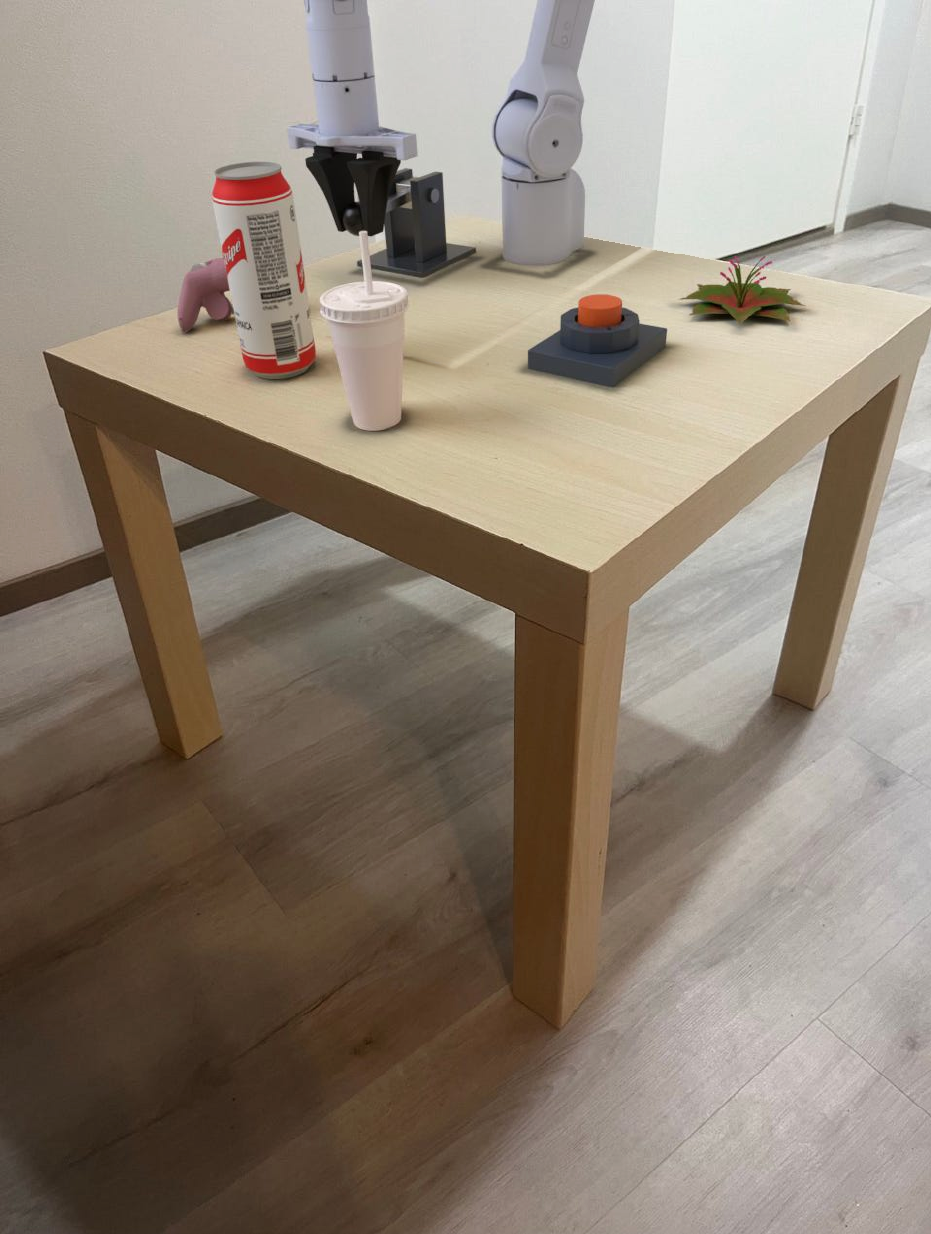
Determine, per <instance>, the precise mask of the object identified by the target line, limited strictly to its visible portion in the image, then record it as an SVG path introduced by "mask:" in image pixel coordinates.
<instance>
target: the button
mask: <svg viewBox="0 0 931 1234" xmlns="http://www.w3.org/2000/svg"><path fill="white" fill-rule="evenodd" d="M622 307H623V300H622V298H620V297H618V296H616V295H612V294H604V293H603V294H602V293H601V294H590V295H586V296H583V297H581V298H580V299H578V303H577V308H578V323H579V324H581V325H584V326H590V327H610V326H615V325H619V324H620V323H621V316H622Z"/></svg>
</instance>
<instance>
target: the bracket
mask: <svg viewBox="0 0 931 1234" xmlns="http://www.w3.org/2000/svg"><path fill="white" fill-rule="evenodd" d="M411 176H412V177H414V172H413V169H412V168H406V167H405V168H402V169H398V170H397V172H396V175H395V177H394V180H393V183H392V186H391V189H390V193H389V196H391V195H393V194H396V185H395V184H396V183H398V182H400V181H402V180H405V179H407V178H409V177H411ZM418 177H419V178H416V179H413V180H410V185H411V199H412V209H407V208H400V207H398V208H396V209H394V210H392V211H390V212H388V213H386V214H385V221H384V236H385V237H384V238H385V239H384V240H385V247H386V248H384V249H382V250H379V251H377V252H375V253H373V254H371V255H370V254H369V255H370V265H371V270H376V271H381V272H387V273H391V274H392V273H393V274H398V275H403V276H410V277H415V278H420V279H424V278H426V277H428V276H430V275H432V274H435V273H436V272H438V271H440V270H443V269H446V268H447V267H449V266H452V265H454V264H455V263H458V262H459V261H462V260H464V259H466V258H468V257H470V256H472V255H475V254H476V253H477V248H476V247H474V246H469V245H468V246H467V245H462V244H455V243H449V242H447V230H446V228H447V227H446V212H445V211H446V210H445V193H444V191H445V190H444V173H443V172H442V171H433V172H431V173H428V174H425V175H422V176H418ZM356 266H357V267H360V268H363V264H362V258H360V259H358V260H357V261H356Z"/></svg>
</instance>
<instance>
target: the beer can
mask: <svg viewBox="0 0 931 1234" xmlns="http://www.w3.org/2000/svg"><path fill="white" fill-rule="evenodd" d="M213 173H214V176H215V182H214V185H213V190H212V193H211V201H212V206H213V211H214V217H215V223H216V227H217V232H218V238H219V242H220V247H221V254H222V258H224V263H225V269H226V274H227V279H228V284H229V289H230V291H229V294H230V299H231V305H232V311H233V314H234V320H235V325H236V330H237V336H238V340H239V346H240V350H241V351H240V352H241V356H242V360H243V364H244V365H245V368H246V369H247V370H248V371H250V372H251V373H253V374H254V375H255V376H256V377H258V378H261V379H266V380H283V379H288V378H294V377H297V376H299V375H301V374H303V373H305V372H306V371H308V370H309V369H310V366H311V365H312V364H313V363H314V361H315V359H316V356H317V350H316V343H315V337H314V336H315V335H314V329H313V322H312V316H311V309H310V302H309V295H308V288H307V282H306V275H305V267H304V262H303V254H302V248H301V242H300V235H299V228H298V221H297V214H296V209H295V208H296V207H295V201H294V194H293V190H292V187H291V185H290V184H289V182H288V181H287V179H286V178H285V177H284V174H283V173H282V165H280V163H277V162H271V161H246V162H238V163H233V164H228V165H224V166H221V167H218V168H216V169H215V170H214V171H213Z"/></svg>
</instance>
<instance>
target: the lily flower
mask: <svg viewBox="0 0 931 1234" xmlns="http://www.w3.org/2000/svg"><path fill="white" fill-rule="evenodd" d="M764 259H766V255H764V256H763V257H761V258H760V259H759V261H758V262H757V263H756V264H755V266H754V267H753V268H752V269H751V271H750V272H749V274H748V275H747V277H746V280H744V283H742V272H741V266H740V263H739V259H738V258H737V256H736V255H734V260H735V261H736V262H734V261H733V260H732V259H728V261H729V263H730V264H731V265H732V266H733V268H734V271H735V276H736V277H735V276H734V272H733V270H732V268H731V267H730V266H728V267H727V269H728V271H729V273H730V274H731V276H732V278H733V281H732V280H731V278H730V277H728V276H727V275H726V273H724V272H723V271H720V272H719V274H720V276H721V277H722V278H725V279H726V281H727V283H726V284H725V285H723V284H700V283H696V285H697V287H698V290H696V291H694V292H692V293H690V294H688V295H687V296H686V297H681V298H678V299H677V300H681V301H682V300H698V301H703V302H700V303H697V304H696V305H694V307H693V309H692V310H691V311H692V312H691V313H690V314H689V316H697V315H710V314H711V315H712V314H719V315H721V314H722V315H723V314H724V315H727V314H730V315H731V316H732V317H733V318H734V319H735V320H736V321H737V324H739V325H741V324H742V323H743V322H745V321H746V320H748V318H749V317H750V316H757V317H767V318H773V319H777V320H784V321H787V322H791V319H790V316H789V312H788V310H787V309H786V308H783V307H781V306H778V305H784V304H786V305H793V306H800V307H806V305H805V304H802V303H801V302H800V301H798V300H796V299H794V297H792V296H790V295H789V292H790V291H791V290H792V288H780V287H779V288H777V287H772V286H771V287H770V286H769V287H762V285H761V284H760V282H761V281H764V280H766V279H767V276H766V275H765V276H762V277H759V279H758V280H755V281H754V282H753V280H754V279H755V278H757V277H758V276H759V275H761V270H763V269H765V267H766V266H769V265H773V261H772V260H771V261H767V262H766V263H765V264H763V265H762V266H759V267H758V268H757V269H756V267H757V266H758V264H759V263H760V262H762V261H763V260H764ZM755 269H756V270H755ZM735 278H736V279H735ZM736 281H737V282H736Z"/></svg>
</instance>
